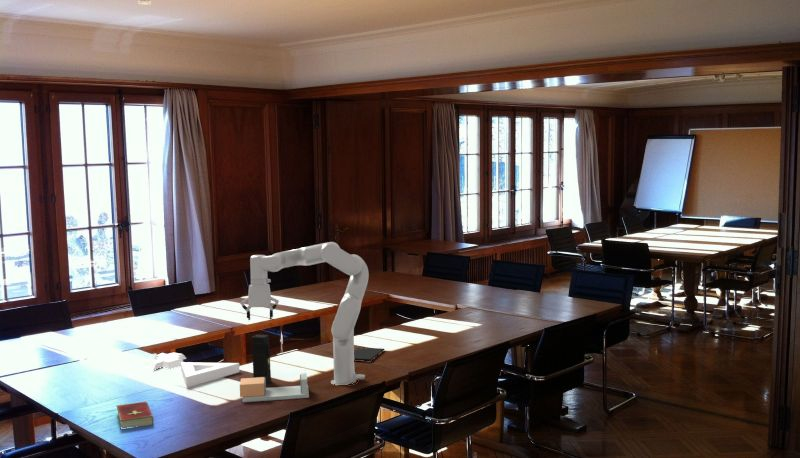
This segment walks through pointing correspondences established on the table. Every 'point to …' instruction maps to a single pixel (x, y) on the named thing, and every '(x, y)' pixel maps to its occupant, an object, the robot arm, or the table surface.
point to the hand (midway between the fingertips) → (260, 319)
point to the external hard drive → (366, 353)
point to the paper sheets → (167, 360)
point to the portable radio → (261, 357)
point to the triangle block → (206, 371)
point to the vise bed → (283, 392)
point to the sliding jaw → (253, 387)
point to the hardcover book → (135, 415)
